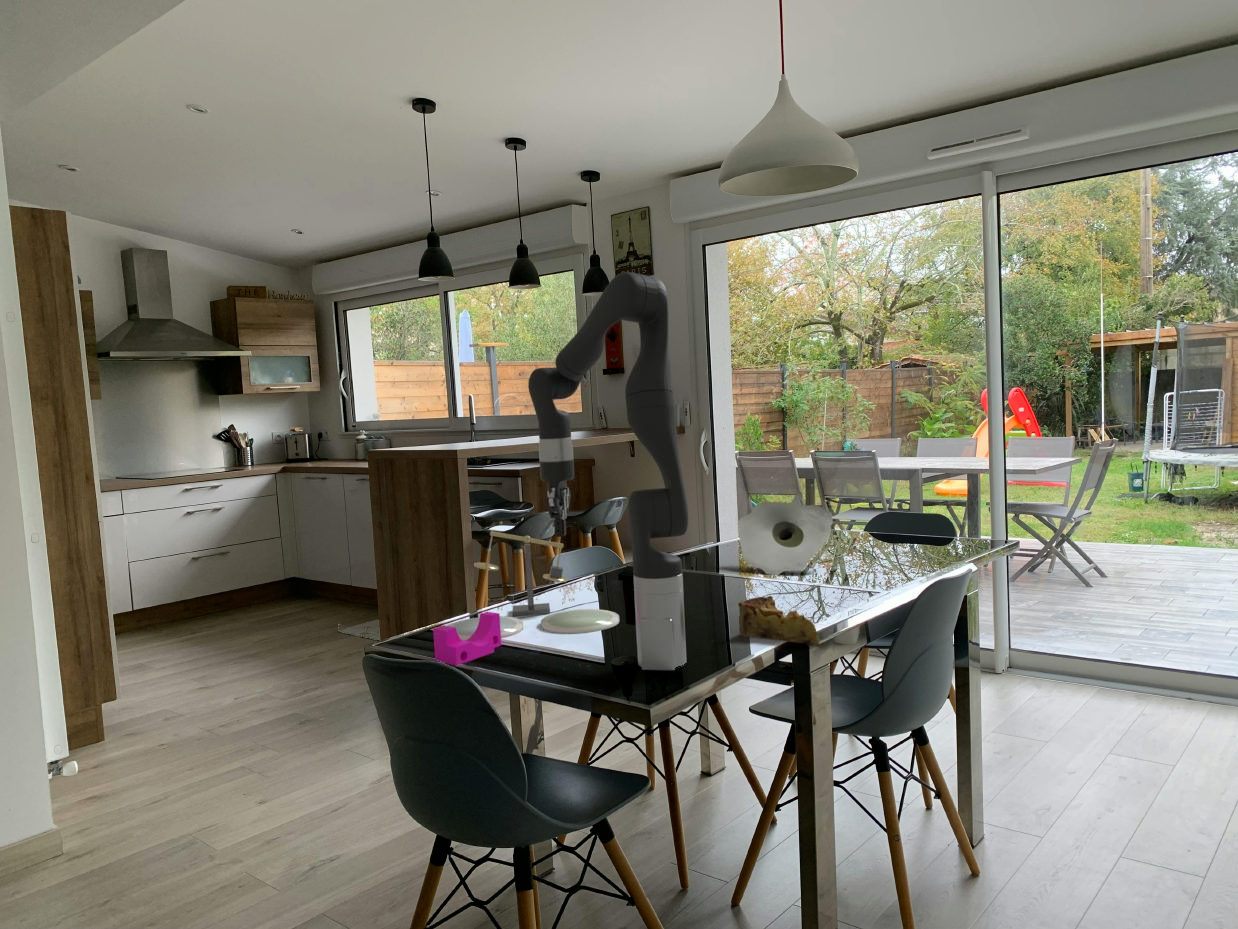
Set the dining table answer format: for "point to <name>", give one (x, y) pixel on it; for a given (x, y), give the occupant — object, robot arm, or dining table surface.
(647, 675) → the dining table surface
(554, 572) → the balance beam
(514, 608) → the balance stand
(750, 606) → the pie slice
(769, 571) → the flower planter
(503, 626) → the grey dish
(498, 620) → the toy block
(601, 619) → the sage dish
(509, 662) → the dining table surface
